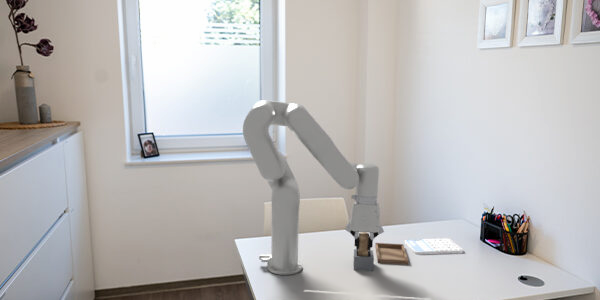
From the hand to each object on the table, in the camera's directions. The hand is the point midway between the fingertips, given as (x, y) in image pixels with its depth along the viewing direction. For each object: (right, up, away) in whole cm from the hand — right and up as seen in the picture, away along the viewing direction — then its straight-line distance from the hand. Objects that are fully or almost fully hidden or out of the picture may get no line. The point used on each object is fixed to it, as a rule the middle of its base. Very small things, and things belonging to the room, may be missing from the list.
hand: (363, 248), depth 166 cm
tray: (+12, -6, +12) cm, 18 cm away
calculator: (+31, -5, +22) cm, 39 cm away
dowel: (0, -7, +1) cm, 7 cm away
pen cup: (0, -7, +1) cm, 8 cm away
